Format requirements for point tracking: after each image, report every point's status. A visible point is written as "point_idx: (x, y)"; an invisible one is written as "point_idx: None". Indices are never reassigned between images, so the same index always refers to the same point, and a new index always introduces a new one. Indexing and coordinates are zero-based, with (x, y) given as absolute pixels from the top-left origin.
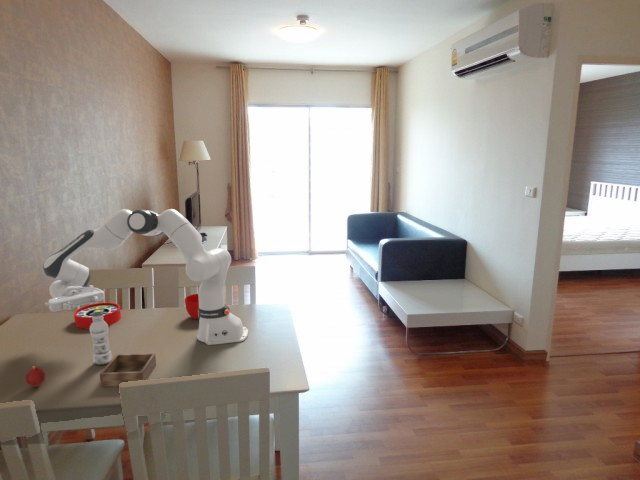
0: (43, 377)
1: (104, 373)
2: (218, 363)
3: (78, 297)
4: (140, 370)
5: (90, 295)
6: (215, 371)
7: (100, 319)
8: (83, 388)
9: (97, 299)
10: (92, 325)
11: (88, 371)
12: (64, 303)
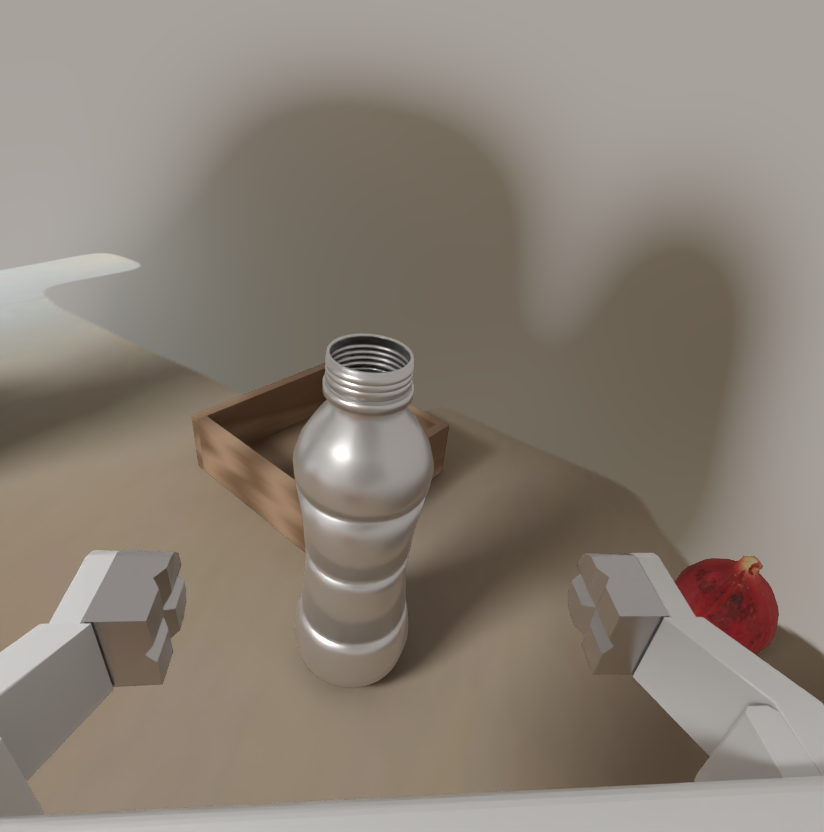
0: (676, 579)
1: (433, 418)
2: (73, 360)
3: (434, 829)
4: (275, 464)
5: (15, 818)
6: (131, 345)
7: (364, 360)
8: (499, 501)
9: (108, 552)
10: (418, 421)
11: (449, 614)
12: (800, 732)
